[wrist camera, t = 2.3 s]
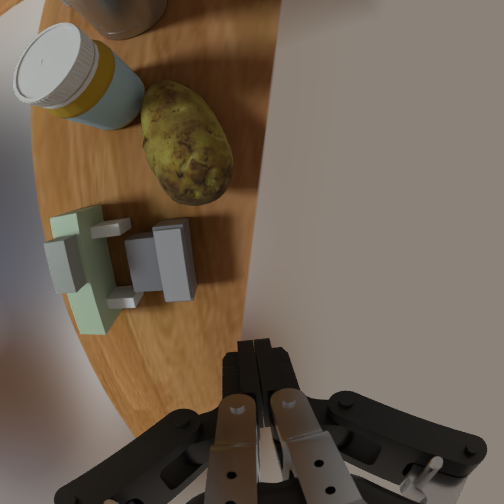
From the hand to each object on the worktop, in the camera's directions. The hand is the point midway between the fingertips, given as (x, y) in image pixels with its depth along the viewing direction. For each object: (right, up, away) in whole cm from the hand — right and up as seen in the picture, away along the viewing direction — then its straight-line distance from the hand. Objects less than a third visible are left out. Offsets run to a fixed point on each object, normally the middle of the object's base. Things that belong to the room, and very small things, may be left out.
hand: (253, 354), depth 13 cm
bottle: (-15, +21, +12) cm, 29 cm away
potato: (-7, +16, +15) cm, 23 cm away
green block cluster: (-16, +4, +17) cm, 24 cm away
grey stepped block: (-10, +5, +17) cm, 20 cm away
